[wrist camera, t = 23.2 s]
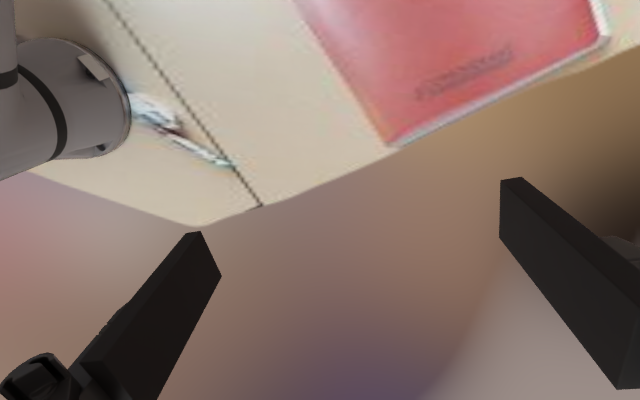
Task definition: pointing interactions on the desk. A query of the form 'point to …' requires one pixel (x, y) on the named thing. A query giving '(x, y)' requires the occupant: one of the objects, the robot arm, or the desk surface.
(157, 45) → the desk surface
